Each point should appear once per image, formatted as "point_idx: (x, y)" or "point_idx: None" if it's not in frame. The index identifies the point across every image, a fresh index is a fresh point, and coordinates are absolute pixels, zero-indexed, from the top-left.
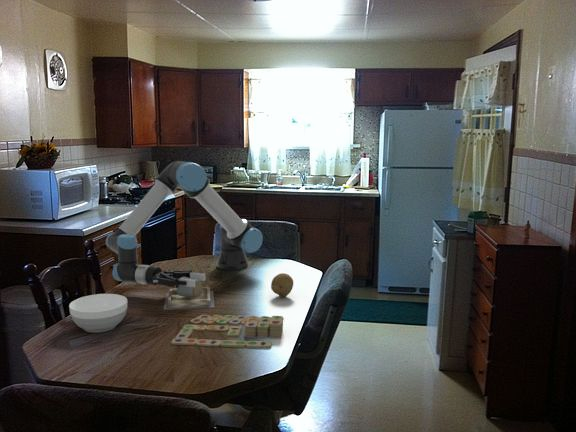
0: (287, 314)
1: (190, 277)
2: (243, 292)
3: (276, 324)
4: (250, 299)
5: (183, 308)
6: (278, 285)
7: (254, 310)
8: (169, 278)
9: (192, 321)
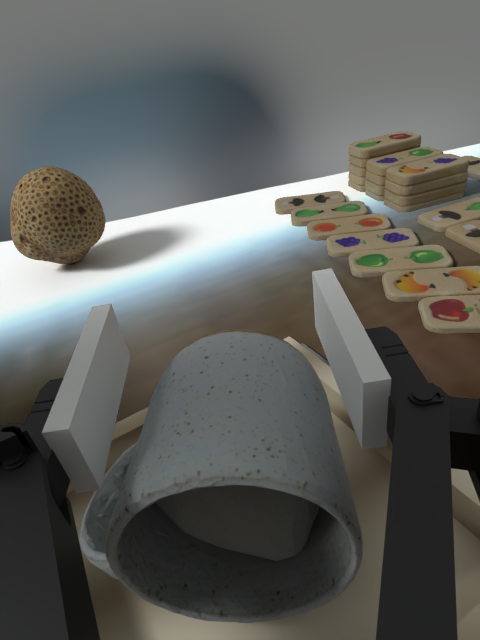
0: (237, 210)
1: (91, 468)
2: (14, 365)
3: (411, 132)
4: (122, 307)
5: None
6: (95, 201)
7: (246, 256)
8: (453, 560)
9: None
